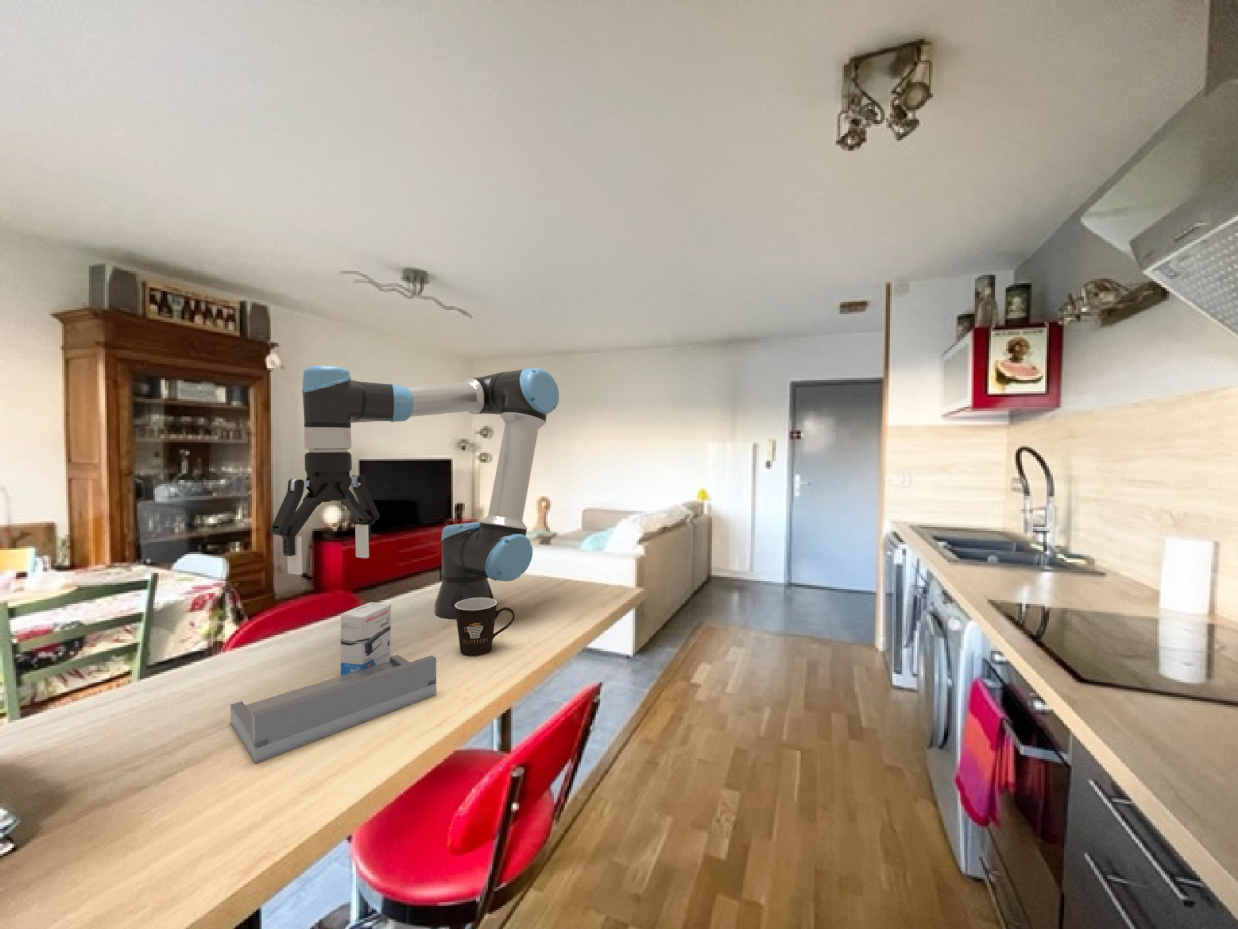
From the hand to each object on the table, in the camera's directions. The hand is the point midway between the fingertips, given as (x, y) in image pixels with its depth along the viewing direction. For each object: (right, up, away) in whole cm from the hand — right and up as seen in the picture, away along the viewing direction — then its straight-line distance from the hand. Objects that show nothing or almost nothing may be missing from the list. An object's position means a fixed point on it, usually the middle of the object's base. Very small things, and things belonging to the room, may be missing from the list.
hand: (331, 565), depth 93 cm
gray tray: (+8, -21, -11) cm, 25 cm away
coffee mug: (+25, -21, +13) cm, 35 cm away
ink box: (+5, -21, +4) cm, 22 cm away
